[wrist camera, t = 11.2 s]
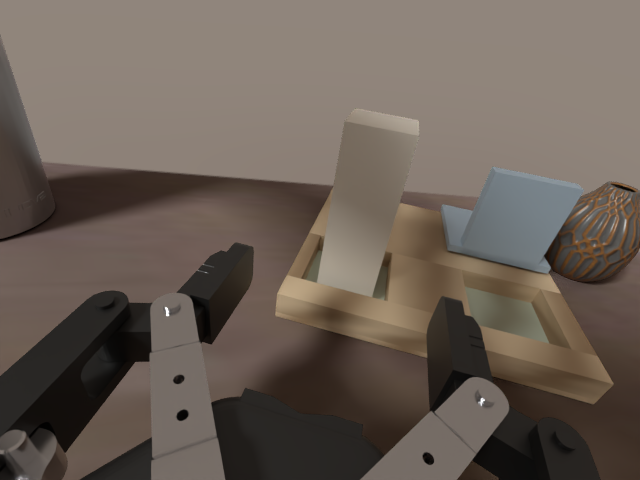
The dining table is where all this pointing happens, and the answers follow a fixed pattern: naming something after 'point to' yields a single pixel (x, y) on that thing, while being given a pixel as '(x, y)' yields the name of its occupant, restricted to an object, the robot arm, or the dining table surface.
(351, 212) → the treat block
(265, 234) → the dining table surface
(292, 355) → the dining table surface
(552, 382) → the puzzle board
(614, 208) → the vase
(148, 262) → the dining table surface
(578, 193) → the blue l-shaped block
